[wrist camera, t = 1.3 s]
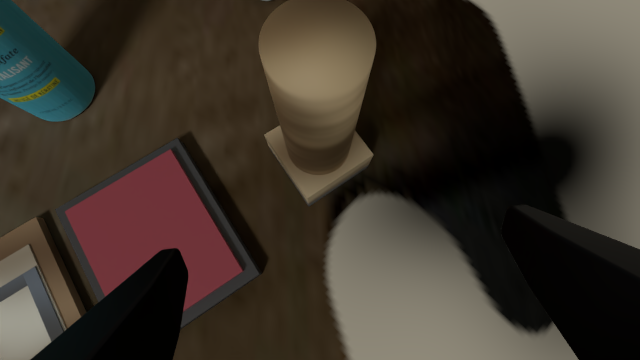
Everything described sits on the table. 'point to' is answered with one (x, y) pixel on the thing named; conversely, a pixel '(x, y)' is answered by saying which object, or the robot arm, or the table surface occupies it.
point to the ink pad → (158, 229)
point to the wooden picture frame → (33, 292)
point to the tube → (39, 69)
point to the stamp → (318, 90)
